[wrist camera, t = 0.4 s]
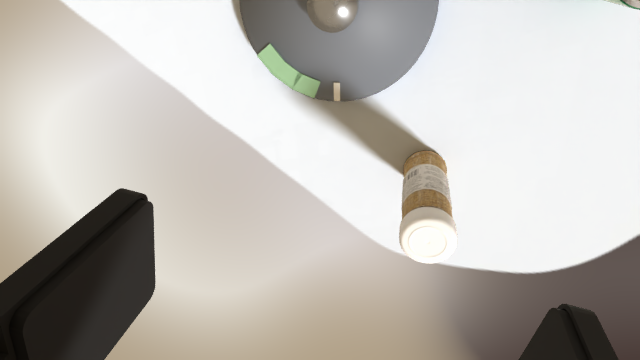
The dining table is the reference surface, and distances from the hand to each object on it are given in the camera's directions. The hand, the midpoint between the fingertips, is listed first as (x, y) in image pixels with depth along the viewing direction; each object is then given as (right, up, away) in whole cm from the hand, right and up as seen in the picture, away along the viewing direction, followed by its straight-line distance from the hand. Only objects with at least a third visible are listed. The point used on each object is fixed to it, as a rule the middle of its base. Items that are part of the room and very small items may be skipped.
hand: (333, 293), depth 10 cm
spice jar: (+11, +4, +36) cm, 38 cm away
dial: (+1, +19, +30) cm, 35 cm away
